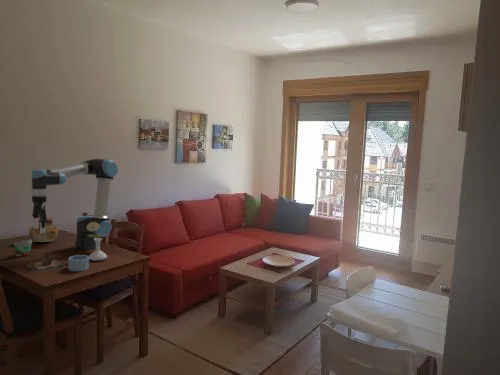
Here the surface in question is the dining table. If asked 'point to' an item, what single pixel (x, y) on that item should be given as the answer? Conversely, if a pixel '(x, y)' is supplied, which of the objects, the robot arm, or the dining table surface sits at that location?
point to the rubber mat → (44, 270)
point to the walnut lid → (46, 262)
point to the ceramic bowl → (78, 263)
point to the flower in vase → (97, 253)
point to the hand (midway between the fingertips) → (39, 230)
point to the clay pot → (44, 237)
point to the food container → (23, 248)
